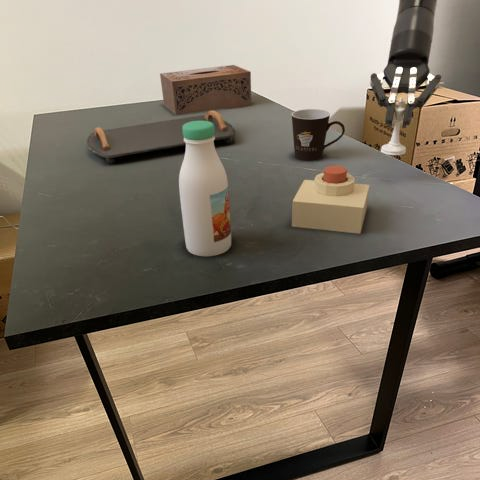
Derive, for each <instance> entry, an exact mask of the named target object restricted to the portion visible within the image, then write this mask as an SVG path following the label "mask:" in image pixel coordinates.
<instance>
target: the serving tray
mask: <svg viewBox="0 0 480 480" xmlns="http://www.w3.org/2000/svg"><path fill="white" fill-rule="evenodd" d="M192 121H209V122H212V123H213V124H214V129H215V134H214V137H215V140H214V141H218V140H223V141H224V144H226V145H231V144H233V140H234V139H233V138H235V136H236V130H235V128H234V126H233V125H232V124H231V123H229V122H228V121H227V120H224V118H223V116H222V115H221V114H220V112H218V111H216V110H208V111H207V114H206V115H204V114H203V115H195V116H188V117H182V118H176V119H170V120H162V121H155V122H149V123H142V124H136V125H129V126H123V127H115V128H108V129H103V128H102V127H100V126H99V127H95V128H94V131H93V132H92V133H90V134H89V135H88V137H87V138H86V148H87V149H88V150H89V151H90V152H92V153H93V154H95V155H97V156H99V157H102V158H106V160H105V161H106V164H107V165H109V166H111V165H115V164H116V159H115V158H120V157H125V156H130V155H136V154H137V155H138V154H142V153H150V152H155V151H159V150H166V149H172V148H173V149H174V148H178V147H183V146H185V147H186V143H185V142H184V136H183V129H182V128H183V125H184V124H186V123H188V122H192Z"/></svg>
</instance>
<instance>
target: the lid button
mask: <svg viewBox="0 0 480 480" xmlns="http://www.w3.org/2000/svg"><path fill="white" fill-rule="evenodd" d="M323 173H324V176H323V181H324V182H327V183H333V184H339V183H344V182H346V177H347V174H348V169H347V167H345V166H342V165H329V166H326V167H324V169H323Z"/></svg>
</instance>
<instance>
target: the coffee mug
mask: <svg viewBox="0 0 480 480" xmlns="http://www.w3.org/2000/svg"><path fill="white" fill-rule="evenodd" d="M330 116H331V112H330V111H327V110H325V109H319V108H318V109H317V108H303V109H298V110H295V111H293V112H291V125H292V137H293V138H292V139H293V150H294V158H295V159H296V160H298V161H301V162H314V161H315V162H316V161H319V160H321V159H322V158H323V155H324V151H325V149H326V148H328V147H330V146H331V145H334V144H335V143H337V142H338V141H339V140H341V139H342V137H343V136H344V134H345V132H346V129H345V128H346V127H345V125H344V123H342V122H341V121H338V120H334V121H331V122H330ZM333 125H339V126H340V127H341V129H342V130H341V134H340V135H339V136H338V137H336V138H335V139H334V140H332V141H330V142H328V143H326V138H327V133H328V131H329V130H330V128H331V127H332V126H333Z"/></svg>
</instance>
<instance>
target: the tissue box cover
mask: <svg viewBox="0 0 480 480" xmlns="http://www.w3.org/2000/svg"><path fill="white" fill-rule="evenodd" d="M251 73H252V72H251V71H250V70H248V69H246V68H243V67H240V66H238V65H235V64H231V65H220V66H213V67H211V66H210V67H205V68H204V67H203V68H196V69H195V68H194V69H185V70H179V71H178V70H177V71H171V72H170V71H169V72H162V73H159V77H160V85H161V91H162V92H161V93H162V102H163V107H164V108H167V109H168V110H169V111H170V112H171V113H172V114H174V115H175V116H180V115H187V114H193V113H200V112H209V111H212V110H214V111H216V110H230V109H231V110H232V109H238V108H245V107H251V106H252V75H251Z"/></svg>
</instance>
